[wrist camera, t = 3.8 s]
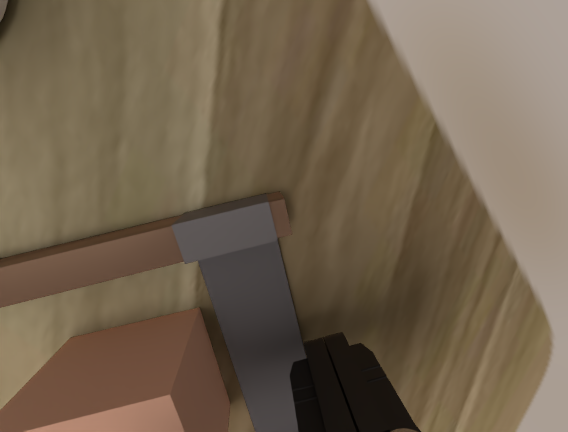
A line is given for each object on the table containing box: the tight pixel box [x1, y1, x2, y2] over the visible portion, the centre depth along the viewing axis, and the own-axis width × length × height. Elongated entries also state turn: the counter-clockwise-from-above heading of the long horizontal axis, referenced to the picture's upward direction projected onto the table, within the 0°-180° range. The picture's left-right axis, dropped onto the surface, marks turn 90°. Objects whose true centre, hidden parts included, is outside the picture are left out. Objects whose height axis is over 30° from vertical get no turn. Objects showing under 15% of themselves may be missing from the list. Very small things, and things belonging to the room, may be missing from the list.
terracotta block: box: [0, 307, 230, 432], centre depth 9 cm, size 5×5×4 cm
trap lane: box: [0, 191, 306, 432], centre depth 10 cm, size 12×20×2 cm, turn 103°
